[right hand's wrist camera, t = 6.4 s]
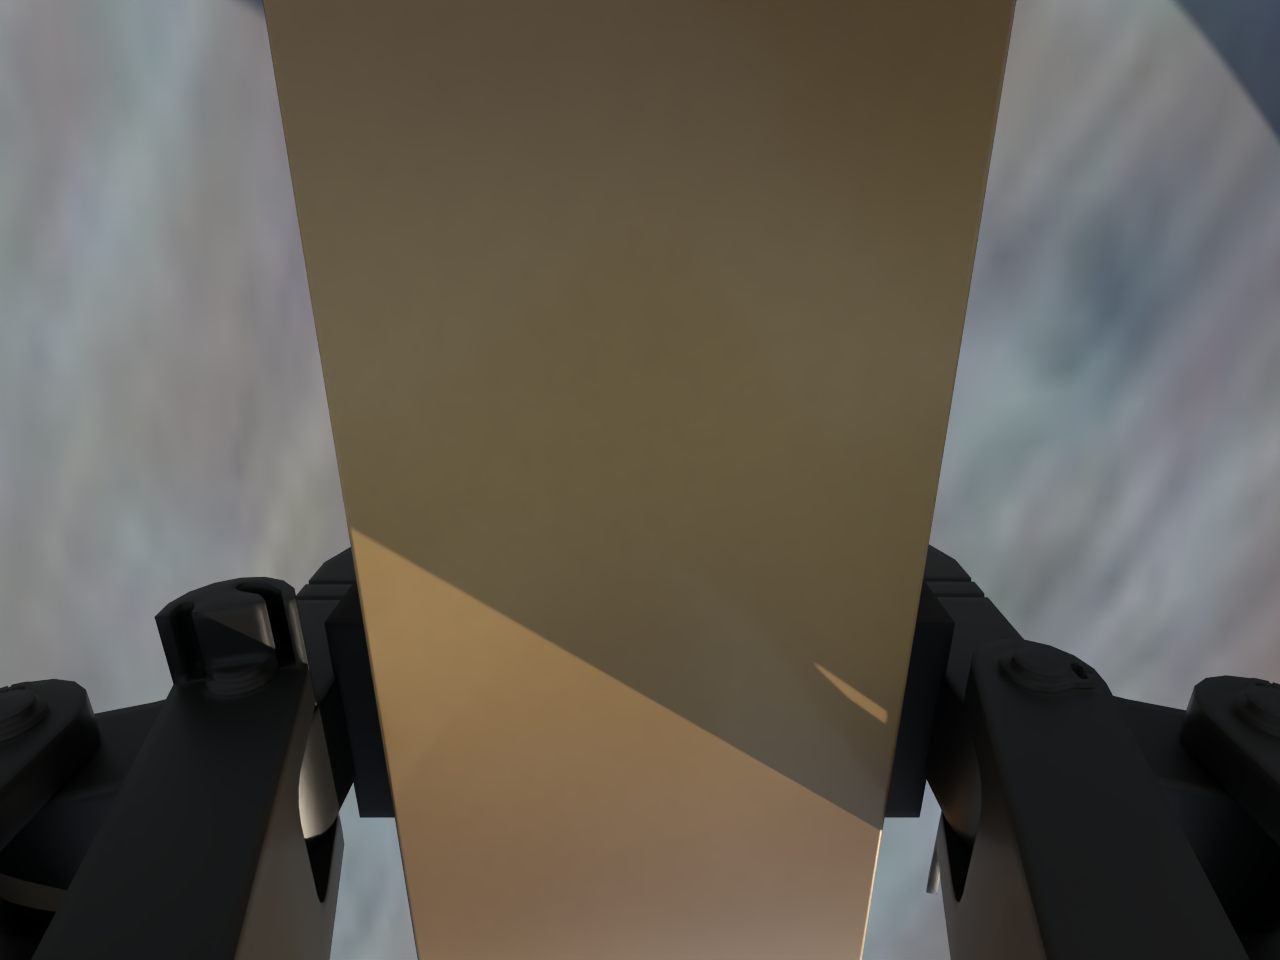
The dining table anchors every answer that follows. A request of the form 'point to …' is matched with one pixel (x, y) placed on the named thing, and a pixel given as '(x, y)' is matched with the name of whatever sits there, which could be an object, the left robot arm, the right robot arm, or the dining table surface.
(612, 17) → the bar
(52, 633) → the dining table surface
